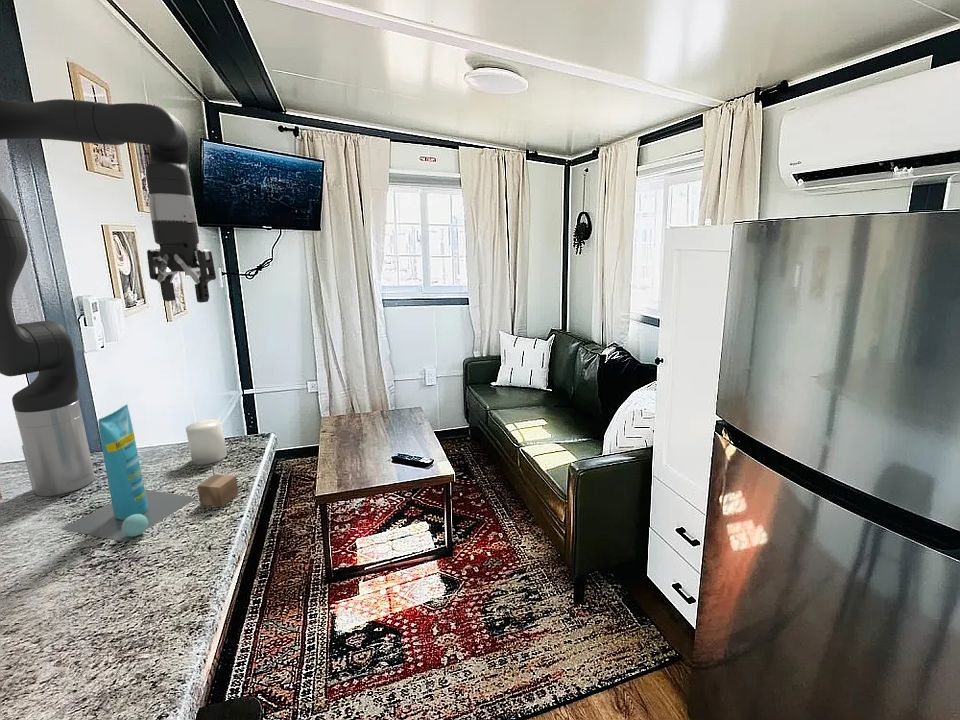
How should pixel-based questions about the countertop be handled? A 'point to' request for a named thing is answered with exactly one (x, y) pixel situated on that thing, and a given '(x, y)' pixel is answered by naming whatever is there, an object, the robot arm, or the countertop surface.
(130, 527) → the teal ball
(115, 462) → the tube
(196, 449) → the white rounded cylinder
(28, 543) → the countertop surface
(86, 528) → the plate
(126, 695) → the countertop surface
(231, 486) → the walnut block
